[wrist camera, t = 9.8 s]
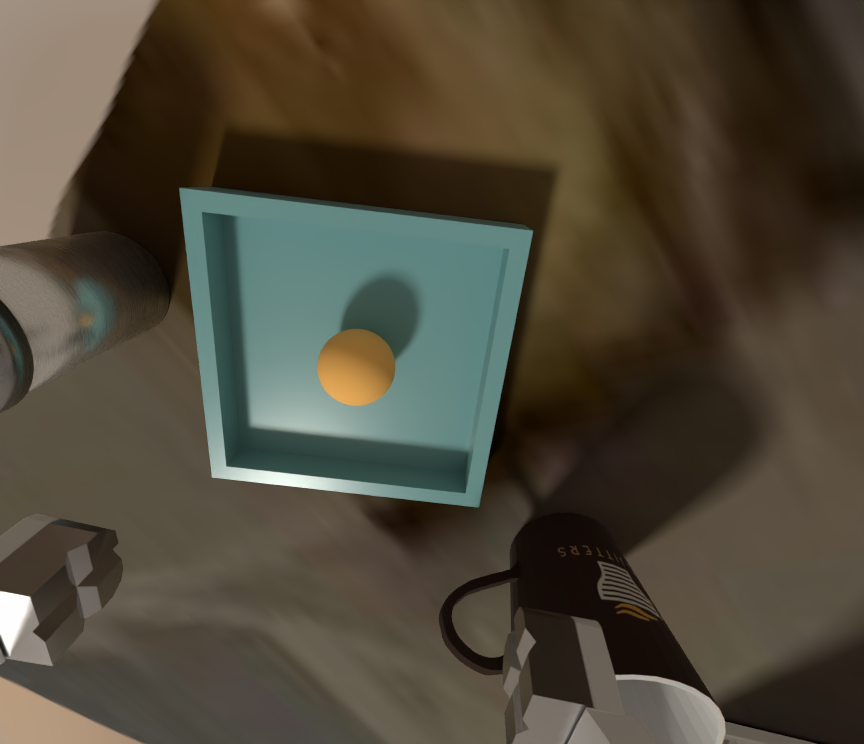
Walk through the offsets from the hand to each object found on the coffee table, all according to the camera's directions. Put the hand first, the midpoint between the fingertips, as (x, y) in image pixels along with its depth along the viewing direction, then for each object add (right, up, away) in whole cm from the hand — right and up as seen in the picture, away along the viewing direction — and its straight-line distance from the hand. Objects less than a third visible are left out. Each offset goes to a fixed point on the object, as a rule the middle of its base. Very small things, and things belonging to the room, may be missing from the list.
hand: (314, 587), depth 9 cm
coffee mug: (+9, -6, +18) cm, 22 cm away
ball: (-1, +5, +13) cm, 14 cm away
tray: (-1, +5, +14) cm, 15 cm away
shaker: (-13, +9, +13) cm, 20 cm away
